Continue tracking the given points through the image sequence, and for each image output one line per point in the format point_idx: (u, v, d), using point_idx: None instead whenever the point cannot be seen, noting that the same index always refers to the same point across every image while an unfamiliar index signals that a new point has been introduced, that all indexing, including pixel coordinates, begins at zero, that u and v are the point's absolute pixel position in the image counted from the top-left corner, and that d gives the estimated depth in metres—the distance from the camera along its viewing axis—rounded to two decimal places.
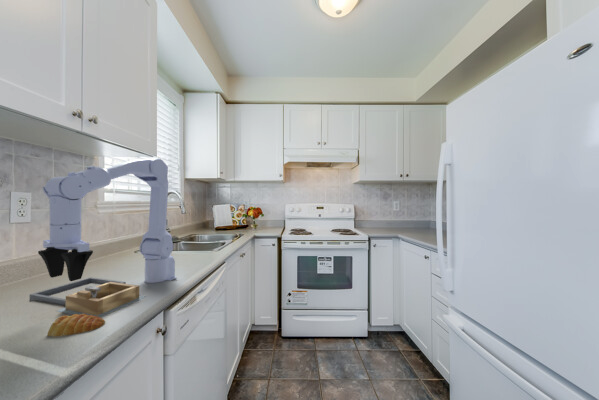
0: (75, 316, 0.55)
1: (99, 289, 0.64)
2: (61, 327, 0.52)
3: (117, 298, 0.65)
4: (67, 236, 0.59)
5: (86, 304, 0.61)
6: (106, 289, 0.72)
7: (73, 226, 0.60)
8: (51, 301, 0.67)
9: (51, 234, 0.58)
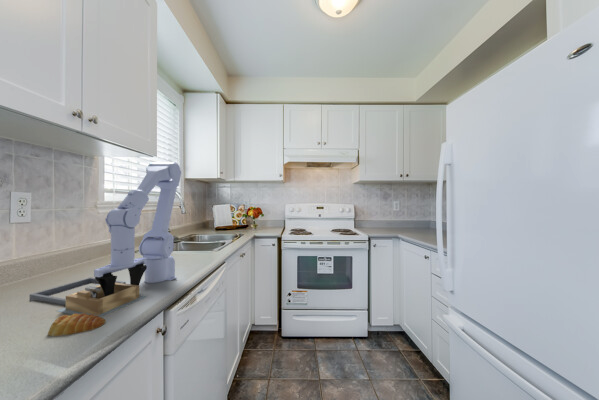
0: (75, 316, 0.55)
1: (99, 289, 0.64)
2: (61, 326, 0.52)
3: (117, 298, 0.65)
4: (111, 259, 0.69)
5: (86, 304, 0.61)
6: None
7: (113, 252, 0.69)
8: (51, 301, 0.67)
9: None
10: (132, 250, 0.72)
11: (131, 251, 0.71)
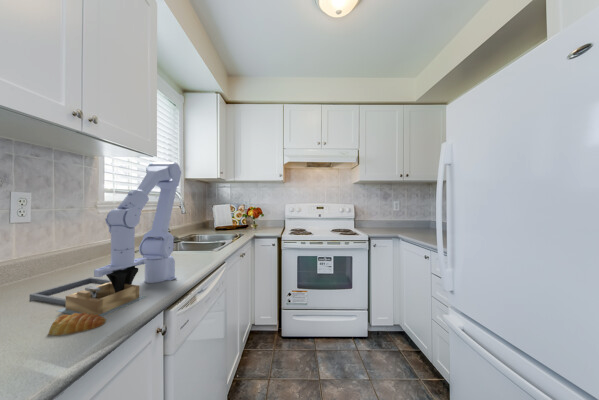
0: (76, 315, 0.55)
1: (99, 289, 0.64)
2: (62, 325, 0.52)
3: (117, 298, 0.65)
4: (111, 259, 0.69)
5: (86, 304, 0.61)
6: (106, 289, 0.72)
7: (113, 252, 0.69)
8: (51, 301, 0.67)
9: None
10: (132, 250, 0.72)
11: (131, 251, 0.71)
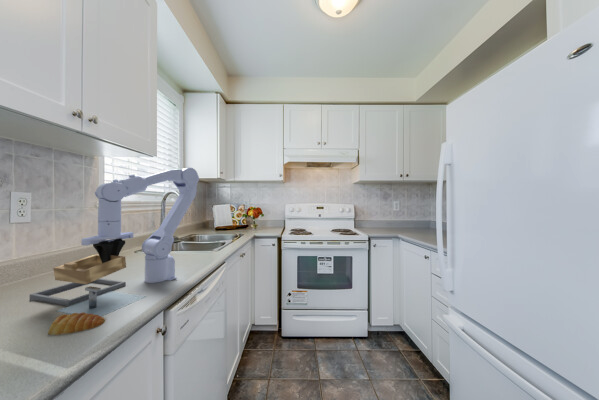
0: (75, 315, 0.55)
1: (99, 289, 0.64)
2: (62, 325, 0.52)
3: (104, 268, 0.68)
4: (98, 230, 0.73)
5: (74, 274, 0.64)
6: (93, 260, 0.75)
7: (100, 223, 0.73)
8: (51, 301, 0.67)
9: None
10: (119, 223, 0.75)
11: (118, 223, 0.75)
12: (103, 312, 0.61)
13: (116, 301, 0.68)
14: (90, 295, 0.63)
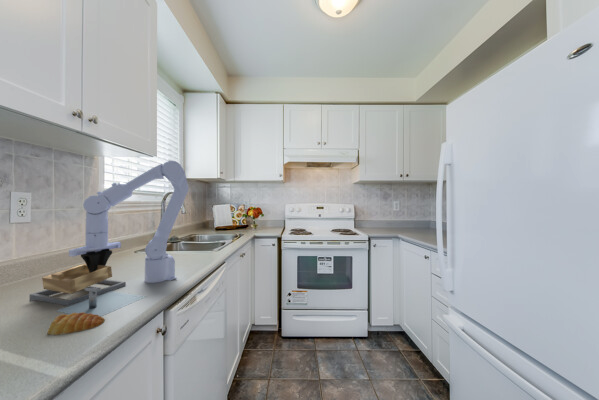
0: (74, 315, 0.55)
1: (99, 289, 0.64)
2: (61, 325, 0.52)
3: (89, 278, 0.72)
4: None
5: (60, 284, 0.68)
6: (82, 270, 0.79)
7: (87, 235, 0.76)
8: (51, 301, 0.67)
9: None
10: (105, 234, 0.79)
11: (104, 235, 0.79)
12: (103, 312, 0.61)
13: (116, 301, 0.68)
14: (90, 295, 0.63)
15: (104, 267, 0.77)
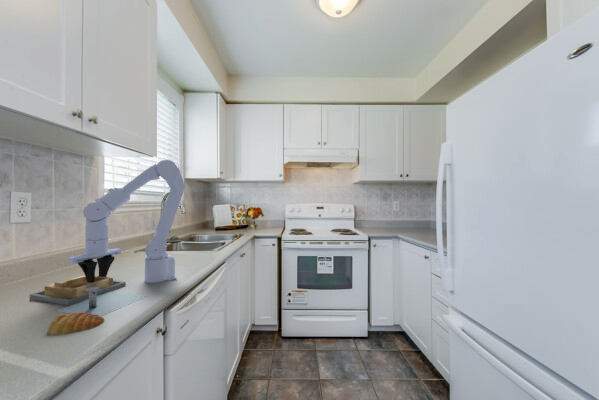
0: (74, 315, 0.55)
1: (99, 289, 0.64)
2: (61, 325, 0.52)
3: None
4: (85, 249, 0.77)
5: (62, 293, 0.69)
6: (83, 281, 0.80)
7: (87, 242, 0.76)
8: (51, 301, 0.67)
9: None
10: (105, 241, 0.79)
11: (104, 241, 0.79)
12: (103, 312, 0.61)
13: (116, 301, 0.68)
14: (90, 295, 0.63)
15: (106, 278, 0.78)
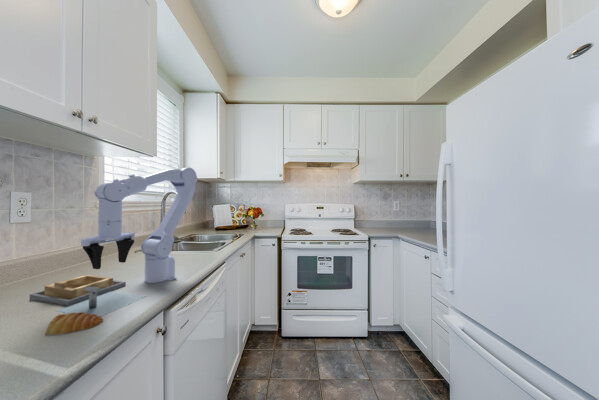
0: (73, 314, 0.55)
1: (99, 289, 0.64)
2: (60, 325, 0.52)
3: None
4: (98, 231, 0.72)
5: (62, 293, 0.69)
6: (83, 281, 0.80)
7: (100, 223, 0.72)
8: (51, 301, 0.67)
9: None
10: (119, 223, 0.74)
11: (118, 224, 0.74)
12: (103, 312, 0.61)
13: (116, 301, 0.68)
14: (90, 295, 0.63)
15: (106, 278, 0.78)
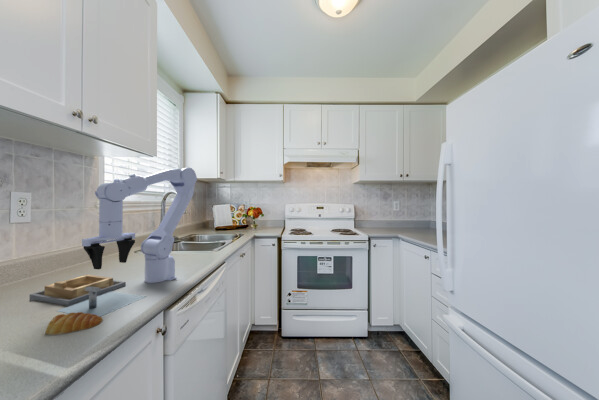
0: (72, 314, 0.55)
1: (99, 289, 0.64)
2: (59, 325, 0.52)
3: None
4: (99, 231, 0.72)
5: (62, 293, 0.69)
6: (83, 281, 0.80)
7: (101, 223, 0.71)
8: (51, 301, 0.67)
9: None
10: (120, 223, 0.74)
11: (119, 224, 0.74)
12: (103, 312, 0.61)
13: (116, 301, 0.68)
14: (90, 295, 0.63)
15: (106, 278, 0.78)
